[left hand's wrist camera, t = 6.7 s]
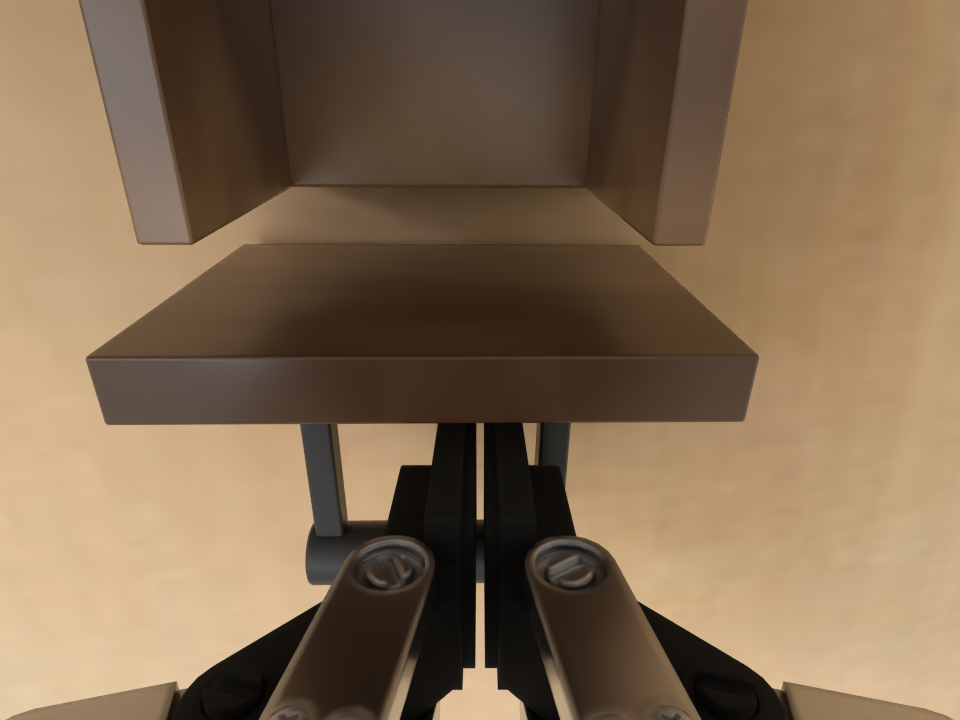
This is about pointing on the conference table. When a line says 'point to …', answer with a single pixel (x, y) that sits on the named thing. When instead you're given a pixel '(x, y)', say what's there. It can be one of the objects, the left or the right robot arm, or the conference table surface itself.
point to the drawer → (418, 268)
